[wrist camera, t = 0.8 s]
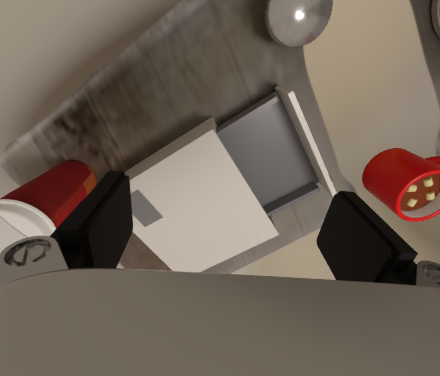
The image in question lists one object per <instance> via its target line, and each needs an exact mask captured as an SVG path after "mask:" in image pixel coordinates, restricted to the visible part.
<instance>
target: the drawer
mask: <svg viewBox="0 0 440 376" xmlns="http://www.w3.org/2000/svg"><path fill="white" fill-rule="evenodd" d="M275 90H276V91H275V92H273V93H271V94H270V95H268V96H267V97H265V98H263V99H262V100H260V101H259V102H257V103H255V104H254V105H252V106H250V107H249V108H247V109H246V110H244V111H242V112H241V113H239V114H238V115H236V116H234V117H233V118H231V119H229V120H228V121H226V122H225V123H223V124H221V125H220V126H218V127H217V128H216V134H217V135H218V137H219V139H220V140H221V142H222V143H223V145H224V147H225V148H226V150H227V151H228V153H229V155H230V156H231V158H232V159H233V161H234V163H235V164H236V166H237V167H238V169H239V170H240V172H241V174H242V175H243V177H244V178H245V180H246V182H247V183H248V185H249V186H250V188H251V190H252V191H253V193H254V194H255V196H256V198H257V199H258V201H259V202H260V204H261V206H262V207H263V209H264V210H265V212H266V214H267V215H268V216H270V215H272V214H274V213H276V212H278V211H280V210H282V209H284V208H286V207H288V206H290V205H292V204H294V203H296V202H298V201H300V200H302V199H304V198H306V197H308V196H310V195H312V194H314V193H316V192H318V191H320V189H319V187H318V186H317V185H316V183H318V182H319V183H320V184H321V185H322V187H323V188H324V189H325V190H326V191H327V192H328V193H329V195H330V196H331V197H332V198H333V197H334V195H335V194H337V193H336V191H335V188H334V186H333V184H332V178H331V177H330V175H329V174H328V172H327V170H326V167H325V165H324V163H323V160H322V158H321V155H320V153H319V151H318V148H317V146H316V144H315V141H314V139H313V137H312V134H311V132H310V130H309V127H308V125H307V123H306V120H305V118H304V115H303V113H302V111H301V108H300V106H299V104H298V101H297V99H296V97H295V94H294V92H293V91H292V90H290V89H287V88H285V87H282V86H280V85H278V86H276V87H275Z"/></svg>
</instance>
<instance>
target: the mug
mask: <svg viewBox="0 0 440 376" xmlns="http://www.w3.org/2000/svg"><path fill="white" fill-rule="evenodd" d="M362 182H363V185H364V187H365V188H366V189H367V190H368V191H369V192H370V193H372V194H373V195H374V196H375V197H377V198H378V199H379V200H380V201H381V202H383V203H384V204H385V205H386V206H387V207H388V208H389V209H391V210H392V211H393V212H394V213H396V214H397V215H398V216H399V217H400V218H402V219H404V220H406V221H411V222H418V221H424V220H427V219H430V218H432V217H434V216H436V215H438V214H440V156H436V157H430V158H426V159H423V158H421V157H419V156H417V155H415V154H413V153H411V152H409V151H407V150H405V149H401V148H393V149H388V150H385V151H383V152H381V153H379V154H378V155H376V156H375V157H374V158H372V159H371V160H370V162H369V163H368V164H367V166H366V167H365V169H364V172H363V177H362Z"/></svg>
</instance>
